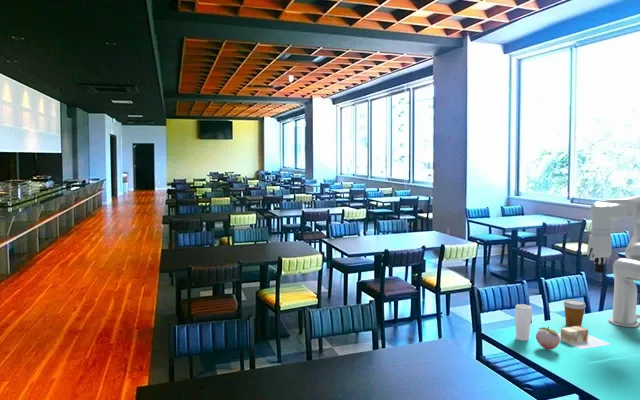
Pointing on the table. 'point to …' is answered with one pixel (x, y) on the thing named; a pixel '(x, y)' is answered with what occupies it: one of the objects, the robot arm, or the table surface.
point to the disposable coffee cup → (574, 312)
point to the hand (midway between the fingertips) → (599, 272)
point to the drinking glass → (523, 321)
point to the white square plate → (588, 342)
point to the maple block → (574, 334)
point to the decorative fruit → (548, 338)
